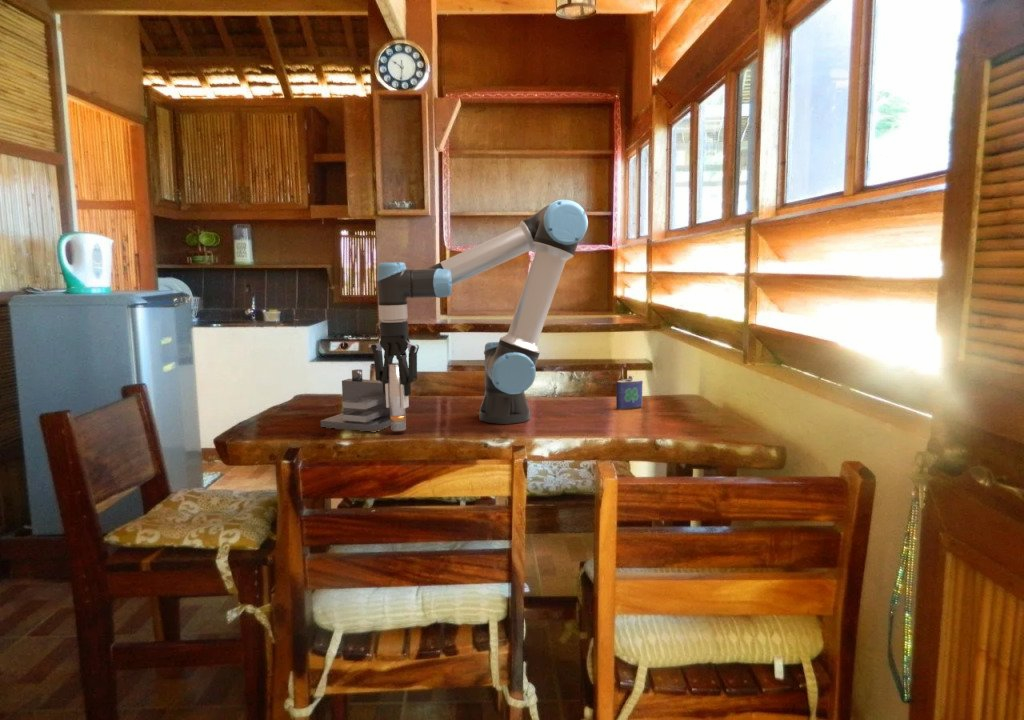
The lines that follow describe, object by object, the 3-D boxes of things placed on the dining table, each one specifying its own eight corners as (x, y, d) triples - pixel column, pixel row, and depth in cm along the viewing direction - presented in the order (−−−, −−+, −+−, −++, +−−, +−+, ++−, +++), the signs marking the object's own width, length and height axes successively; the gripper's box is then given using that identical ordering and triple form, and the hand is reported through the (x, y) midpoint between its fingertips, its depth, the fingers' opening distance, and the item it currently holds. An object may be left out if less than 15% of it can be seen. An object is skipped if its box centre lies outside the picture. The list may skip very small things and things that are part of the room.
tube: (409, 427, 187) (406, 362, 184) (401, 431, 183) (398, 365, 180) (395, 426, 188) (392, 362, 186) (387, 430, 184) (384, 364, 182)
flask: (639, 406, 220) (640, 373, 219) (644, 408, 217) (645, 375, 216) (614, 408, 217) (615, 375, 215) (619, 410, 214) (619, 376, 212)
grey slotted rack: (401, 421, 200) (400, 371, 198) (375, 432, 187) (374, 378, 185) (349, 417, 206) (347, 368, 204) (320, 427, 193) (318, 375, 191)
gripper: (428, 319, 182) (432, 406, 185) (373, 319, 188) (377, 402, 191) (415, 322, 175) (418, 411, 178) (358, 321, 181) (362, 408, 184)
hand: (397, 406), depth 185 cm, fingers closed on tube, 4 cm apart
